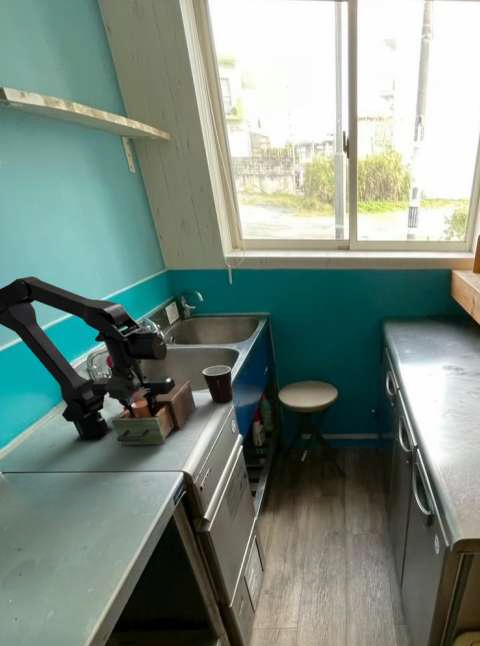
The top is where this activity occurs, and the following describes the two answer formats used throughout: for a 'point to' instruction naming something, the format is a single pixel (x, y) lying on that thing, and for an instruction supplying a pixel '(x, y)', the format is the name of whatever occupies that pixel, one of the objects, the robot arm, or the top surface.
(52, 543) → the top surface
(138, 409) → the orange cylinder
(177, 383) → the cabinet
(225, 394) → the dark brown cup
